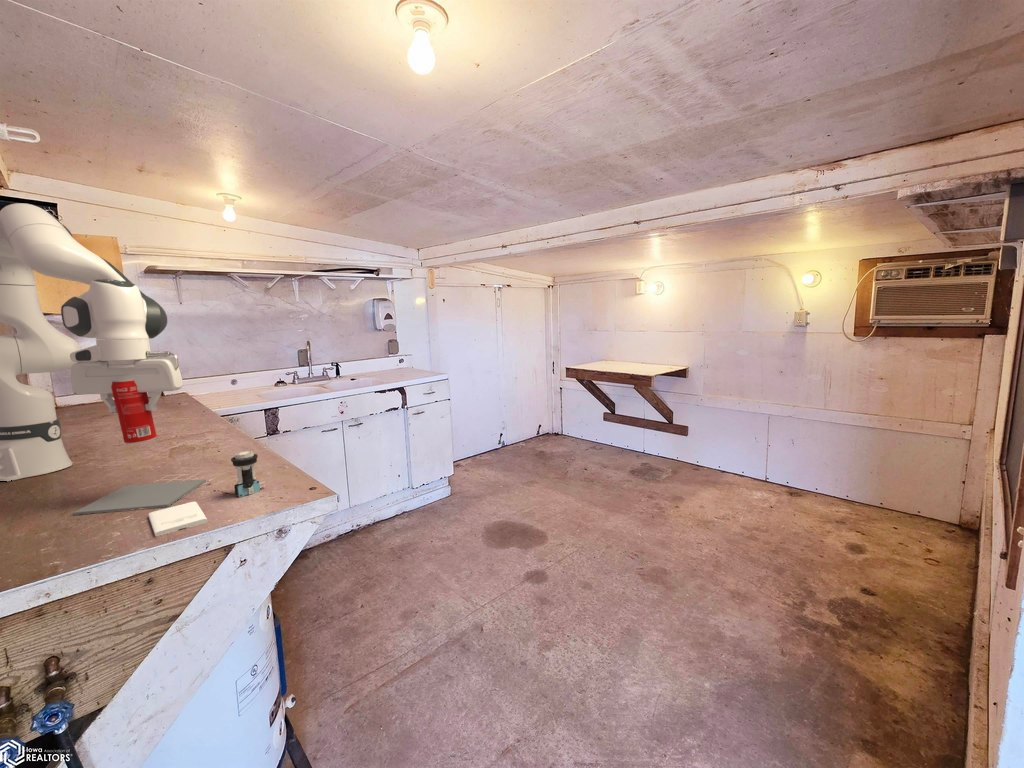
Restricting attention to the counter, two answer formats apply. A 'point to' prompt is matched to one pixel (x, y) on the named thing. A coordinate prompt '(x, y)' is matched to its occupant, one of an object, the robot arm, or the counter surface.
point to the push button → (246, 473)
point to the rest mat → (141, 496)
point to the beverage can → (133, 412)
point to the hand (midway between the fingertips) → (133, 411)
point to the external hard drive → (176, 518)
